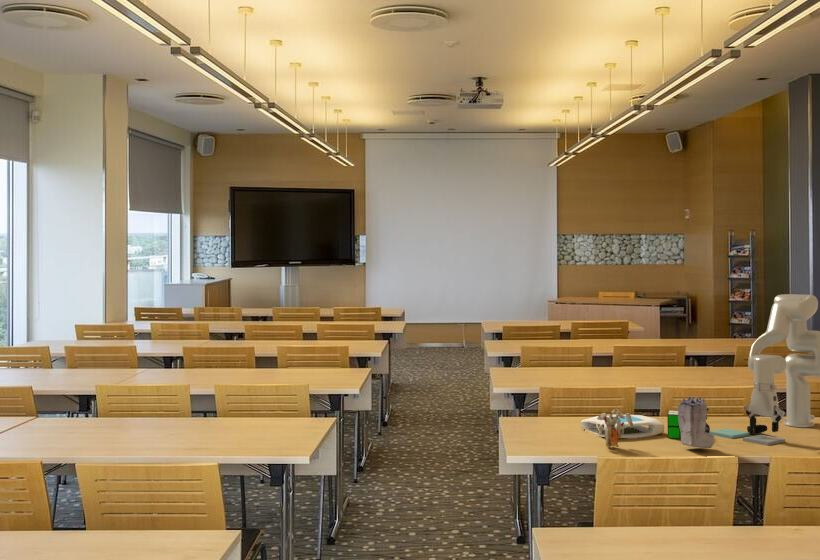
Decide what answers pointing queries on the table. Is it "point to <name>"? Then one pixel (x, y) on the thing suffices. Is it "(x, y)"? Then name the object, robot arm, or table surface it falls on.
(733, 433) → the teal board
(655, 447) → the table surface
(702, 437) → the cell model
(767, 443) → the slate board
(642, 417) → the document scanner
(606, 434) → the voxel character
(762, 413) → the robot arm
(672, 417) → the puzzle cube
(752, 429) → the tape measure
